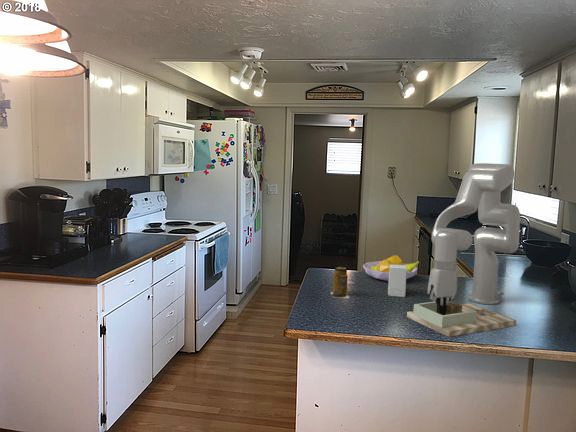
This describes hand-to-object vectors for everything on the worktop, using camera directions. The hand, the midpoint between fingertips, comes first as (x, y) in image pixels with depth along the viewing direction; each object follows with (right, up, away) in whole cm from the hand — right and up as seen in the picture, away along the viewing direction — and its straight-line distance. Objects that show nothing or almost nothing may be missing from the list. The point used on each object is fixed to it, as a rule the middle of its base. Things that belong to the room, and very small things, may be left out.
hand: (441, 315), depth 177 cm
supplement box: (-8, +1, +39) cm, 39 cm away
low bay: (+1, -1, +1) cm, 2 cm away
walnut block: (+4, -1, +2) cm, 5 cm away
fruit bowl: (-4, +4, +67) cm, 67 cm away
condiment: (-33, +1, +34) cm, 48 cm away
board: (+9, -3, +5) cm, 10 cm away
